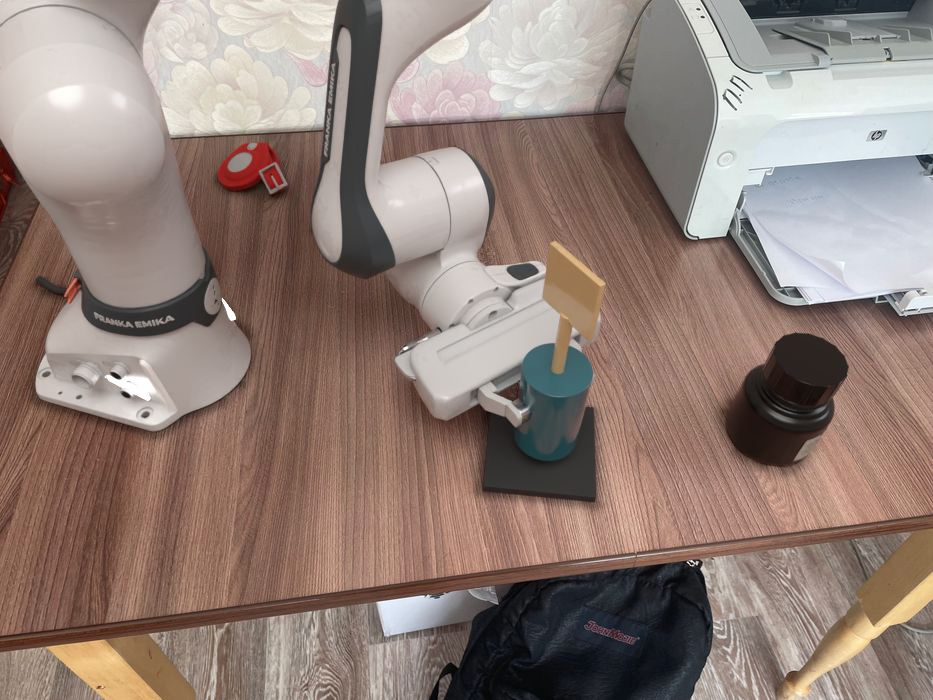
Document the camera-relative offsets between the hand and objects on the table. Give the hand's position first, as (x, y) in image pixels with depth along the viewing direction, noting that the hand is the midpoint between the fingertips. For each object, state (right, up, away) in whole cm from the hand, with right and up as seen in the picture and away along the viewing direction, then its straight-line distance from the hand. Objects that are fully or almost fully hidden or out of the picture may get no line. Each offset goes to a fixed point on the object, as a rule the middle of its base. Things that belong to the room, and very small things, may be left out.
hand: (557, 401), depth 66 cm
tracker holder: (-39, +29, +37) cm, 61 cm away
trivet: (-1, -6, +7) cm, 9 cm away
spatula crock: (-1, -4, +5) cm, 6 cm away
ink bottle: (+23, -4, +9) cm, 26 cm away
